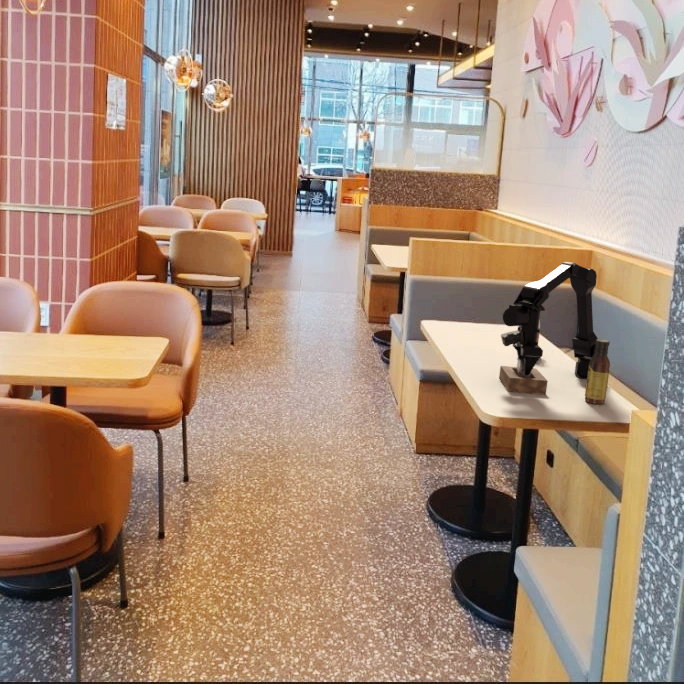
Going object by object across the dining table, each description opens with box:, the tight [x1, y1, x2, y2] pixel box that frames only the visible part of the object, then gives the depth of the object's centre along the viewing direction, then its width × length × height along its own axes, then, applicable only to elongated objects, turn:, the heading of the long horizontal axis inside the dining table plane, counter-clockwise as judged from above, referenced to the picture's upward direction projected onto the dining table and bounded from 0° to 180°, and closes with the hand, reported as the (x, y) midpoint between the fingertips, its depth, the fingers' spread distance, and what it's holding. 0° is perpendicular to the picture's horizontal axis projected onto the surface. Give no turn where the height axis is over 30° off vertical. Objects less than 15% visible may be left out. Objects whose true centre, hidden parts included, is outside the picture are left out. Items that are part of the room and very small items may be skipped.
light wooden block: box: [516, 357, 532, 378], centre depth 273 cm, size 4×4×9 cm
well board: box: [498, 365, 549, 395], centre depth 273 cm, size 12×16×4 cm
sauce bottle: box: [584, 338, 611, 405], centre depth 259 cm, size 6×6×20 cm
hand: (523, 371), depth 273 cm, fingers open, 9 cm apart
